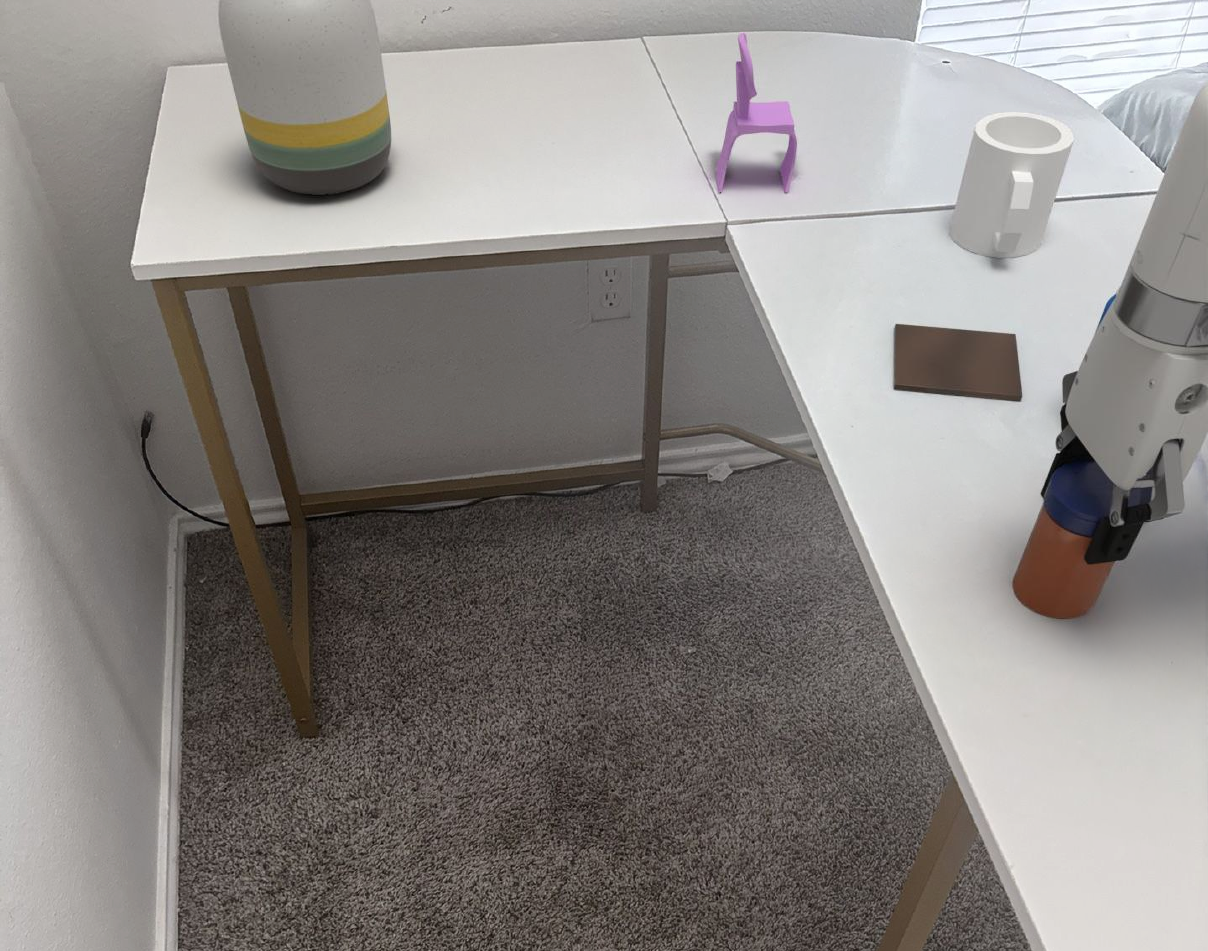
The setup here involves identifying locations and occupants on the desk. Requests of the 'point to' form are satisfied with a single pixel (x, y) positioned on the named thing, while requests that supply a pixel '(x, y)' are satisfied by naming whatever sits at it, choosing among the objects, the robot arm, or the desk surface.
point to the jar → (1058, 571)
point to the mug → (1010, 183)
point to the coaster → (956, 362)
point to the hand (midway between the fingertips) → (1081, 525)
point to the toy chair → (755, 119)
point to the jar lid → (1081, 496)
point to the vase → (309, 90)
